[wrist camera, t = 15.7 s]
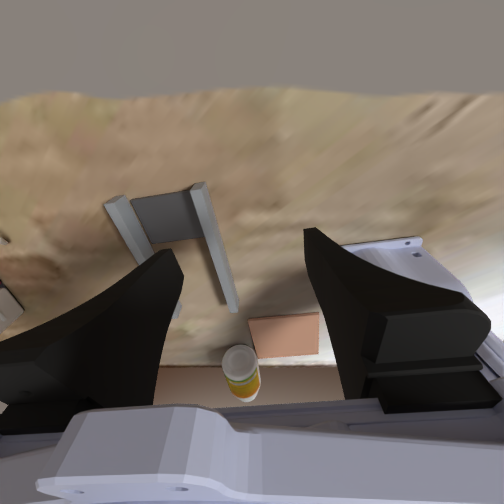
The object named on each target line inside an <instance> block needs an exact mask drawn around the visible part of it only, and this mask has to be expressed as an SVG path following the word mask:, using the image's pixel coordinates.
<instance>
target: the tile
mask: <svg viewBox="0 0 504 504" xmlns="http://www.w3.org/2000/svg"><path fill="white" fill-rule="evenodd" d="M248 324H249V328H250V331H251V335H252V339H253V342H254V346H255V350H256V353H257V357H258V359H260V358H273V357H287V356H300V355H313V354H318V349H319V312H316V313H305V314H295V315H284V316H274V317H263V318H253V319H248Z"/></svg>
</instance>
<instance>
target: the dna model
mask: <svg viewBox="0 0 504 504" xmlns="http://www.w3.org/2000/svg"><path fill="white" fill-rule="evenodd" d="M0 244H3V245H7V244H8V242H7V241H6V240H5V239H3V238H1V237H0Z"/></svg>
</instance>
